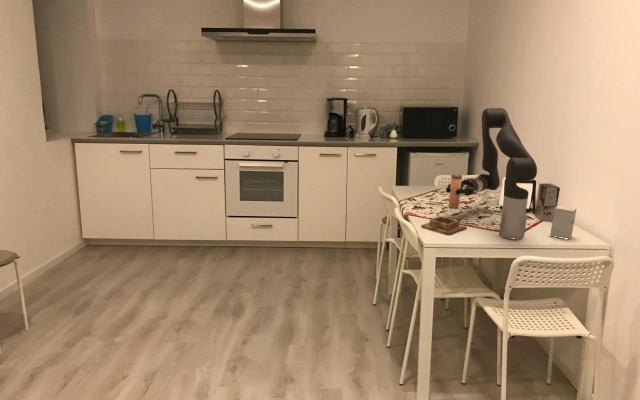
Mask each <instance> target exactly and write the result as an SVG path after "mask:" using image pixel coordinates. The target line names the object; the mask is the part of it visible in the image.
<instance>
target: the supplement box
mask: <svg viewBox="0 0 640 400" xmlns="http://www.w3.org/2000/svg"><path fill="white" fill-rule="evenodd" d="M576 213H577V207H574V206H568V205H562V204H561V205H560V204H559V205H558V204H557V207H556V208H555V210H554V216H553V221H551V228H550V235H551V236H550V237H552V236H557V237H563V238H569V237H570V236H571V235H572V236H573V232H574V224H575V220H576ZM572 236H571V237H572ZM571 237H570V238H571ZM570 238H569V239H570Z"/></svg>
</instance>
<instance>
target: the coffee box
mask: <svg viewBox="0 0 640 400" xmlns="http://www.w3.org/2000/svg"><path fill="white" fill-rule="evenodd" d="M560 190H561V187H560V186H557V185H555V184H553V183H540V182H539V183H538V190H537V198H536V204H535V211H534V216H535V217H537V218H538V219H539V220H540V221H542V222H543V221H544V222H553V216H554V210H555V208H556V207H557V206H558V201H559V195H560Z"/></svg>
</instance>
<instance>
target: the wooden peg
mask: <svg viewBox="0 0 640 400" xmlns="http://www.w3.org/2000/svg"><path fill="white" fill-rule="evenodd" d="M462 177H463V174H460V173H451V174H450V183H451V186H450V192H449V197H448V209H452V210H459V207H460V196H461V194H459V195H456V190H458V189H460V188H461V182H462V179H463V178H462Z"/></svg>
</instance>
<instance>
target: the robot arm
mask: <svg viewBox="0 0 640 400" xmlns="http://www.w3.org/2000/svg"><path fill="white" fill-rule="evenodd" d="M490 129H500V130H498V133H497V135H496V137H495V141H496V142H495V143H496V145H497V147H498V148H499V151H500V152H501V153H502V154H503V155H504V156H506V157H507V158H509V159H508V161H507V162H506V168H505V181H504V195H503V201H502V209H501V210H502V211H501V217H500V223H499V230H498V235H499V236H500V235H501V236H503V237H506V238H505V239H507V238H515V239H519V240H521V239H520V238H522V237H524V238H525V233H526V226H527V219H528V215H527V213H526V212H527V206H528V200H529V190H527V189H525V188H524V187H521V186H519V185H517V182H519V181H521V182H530V181H533V180H534V179H536V177H537V174H538V168H537V167H538V166H537V163H536V162H535V159H534V158H533V157H532V155H531V154H530V153H529V152H528V150H527V149H526V148H525V146H524V144H523V143H522V140H521V139H520V137H519V135H518V133H517V132H516V130H515V129H514V127H513V123H512V122H511V119H510V117H509V114H508V112H507V110H506V109H505V108H503V107H502V108H501V107H494V108H493V107H491V108H490V107H489V108H484V110H483V111H482V114H481V135H482V138H481V139H482V162H481V168H482V170H483V171H485V172H487V173H488V174H486V173H480V174H479V175H478V176H477V177H470V178H467V179H466V178H465V179H463V180H461V188H460V189H458V190H456V195H459V194H460V195H464V196H471V195H476V194H478V193H481V192H483V191H485V190H489V191H496V190H498V189H499V187H500V185H501V180H500V175H499V171H498V163H499V162H498V160H499V152H498V149H497V147H496V145H495V143H494V142H493V140H492V137H491V134H490ZM450 186H451V182H450V183H449V184H447V187H446V189H445V192H446V193H449V194H450ZM501 236H500V237H501ZM503 237H502V238H503ZM522 239H523V238H522Z"/></svg>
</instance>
